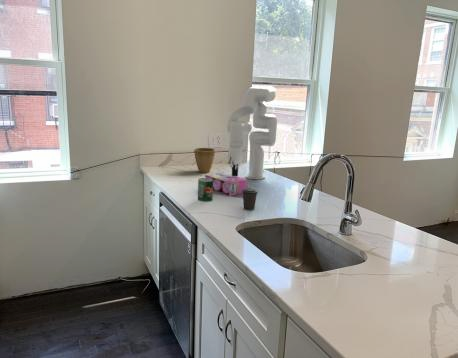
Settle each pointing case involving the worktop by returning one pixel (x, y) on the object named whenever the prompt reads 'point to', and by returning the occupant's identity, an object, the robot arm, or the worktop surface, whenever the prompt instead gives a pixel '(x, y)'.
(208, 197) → the canned tomato
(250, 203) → the dark tapered cylinder
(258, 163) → the robot arm
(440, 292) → the worktop surface
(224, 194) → the mat
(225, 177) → the gum box
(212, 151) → the plant pot
